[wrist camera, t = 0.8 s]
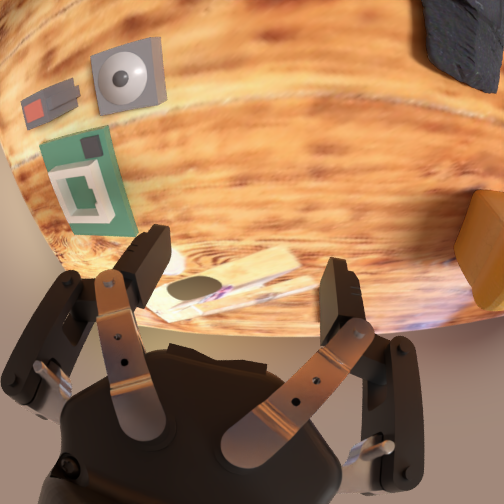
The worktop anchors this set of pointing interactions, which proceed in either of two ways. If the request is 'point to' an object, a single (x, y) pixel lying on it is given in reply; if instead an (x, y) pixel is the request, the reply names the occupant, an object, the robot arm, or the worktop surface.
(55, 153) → the circuit board
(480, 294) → the bread
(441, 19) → the dark slate chunk
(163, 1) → the worktop surface
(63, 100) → the keyed plug
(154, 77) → the grey square domed block
